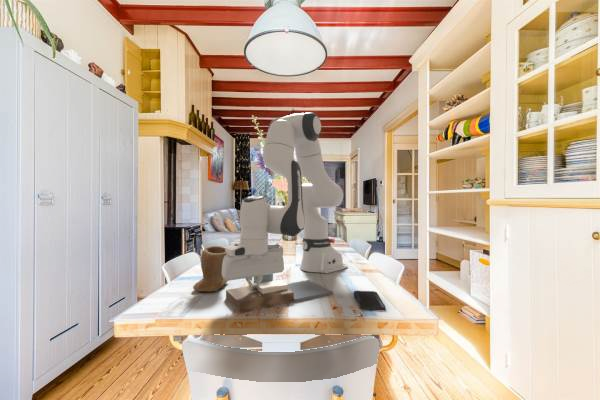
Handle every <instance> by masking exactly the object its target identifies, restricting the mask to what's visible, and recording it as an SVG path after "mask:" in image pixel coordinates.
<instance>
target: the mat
mask: <svg viewBox="0 0 600 400" xmlns="http://www.w3.org/2000/svg"><path fill="white" fill-rule="evenodd" d="M287 284H288V289H289V290H291V291H293V292H294V301H293V302H294V303H298V302H303V301H308V300H312V299H317V298H323V297H325V296H330V295H333V294H334V291H333V290H331V289H329V288H327V287H326V286H325V287H324V286H323V285H320V284H319V283H316V282H314V281H312V280H310V279H307V280H303V281H302V280H301V281H295V282H291V283H290V282H289V283H287Z"/></svg>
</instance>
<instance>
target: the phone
mask: <svg viewBox="0 0 600 400" xmlns="http://www.w3.org/2000/svg"><path fill="white" fill-rule="evenodd" d="M353 295H354V298H355V300H357V301H356V303H357V305H358V306H357V307H358V309H359V308H360V309H361V311H372V310H385V309H386V305H385V303H384V302H383V301H382V298H381V297H380V295H379V293H378V292H377V291H374V290H372V291H371V290H354V292H353ZM360 309H359V310H360ZM385 311H386V310H385Z"/></svg>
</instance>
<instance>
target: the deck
mask: <svg viewBox="0 0 600 400" xmlns="http://www.w3.org/2000/svg"><path fill="white" fill-rule="evenodd" d="M225 300H226V301H227V302H228V303H229V304H230V305H231V306H232V307H233V308H234V309H235V310H236V311H237V312H238V313H239V314H242V313H247V312H251V311H255V310H257V311H258V310H260V309H265V308H269V307H274V306H278V305H279V306H280V305H284V304H287V303H292V302H294V292H293V291H291V290H289V289H286V290H281V291H275V292H270V293H265V294H262V293H261V292H259V291H258V290H252V291H250V290H249V285H247V286H240V287H236V288H229V289H225Z"/></svg>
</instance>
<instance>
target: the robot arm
mask: <svg viewBox="0 0 600 400" xmlns="http://www.w3.org/2000/svg"><path fill="white" fill-rule="evenodd" d="M321 133H322V122H321V119H320V117H319V115H317V114H316V113H315V112H305V113H304V112H301V113H292V114H290V115H285V116H282V117H277V118H274V119H272V120H271V121H270V123H269V124H268V128H267V134H266V136H265V141H264V146H263V149H262V151H263V152H262V161H263V164H264V165H265V167H266V169H268V170H269V171H270V172H272V173H273V174H274V173H275V174H276V175H278V176H281V177H283V178H285V179H286V182H287V204H286V205H273V204H271V203H270V204H269V203H268V202H267V199H266V197H265V196H264V195H250V196H247V197H244V198H243V199H242V201H241V205H240V210H239V211H240V213H239V226H240V231H241V232H240V236H239V241H236V242H234V243H232V244H229V245H227V246H226V247H224V248H225V252H226V254H227V255H225V256H224V258H223V263H222V277H223V278H224V279H225V280H226V281H227V282H228V281H229V282H230V281H234V280H235V281H236V280H241V279H245V281H246V282H247V284H248V286H249V290H250V291H252V290H258V289H259V284H260V283H261V281H262V279H263V275H268V274H273V275H274V274H279V273H282V272H283V271H284V270H285V263H284V248H283V246H282V245H280V244H269V236H268V234H272V235H283V236H287V237H292V238H293V237H296V236H297V235H298V234H300V233H301V232H302V231H303V237H302V258H301V262H300V267H299V269H300V270H302V271H304V272H309V273H322V274H329V273H333V272H337V271H340V270H344V269H345V270H346V269H348V268H349V267H348V266H349V265H348V264H347V263H345V262H344V261H343V256H342V253H340V251H338V250H337V249H336V248H335V247H333V246H332V244H335V242H336V239H335V238H332V237H331V238H329V237H328V236H329V235H328V234H329V228H328V227H329V223H328V220H327V219H326V217H324V216H323V215H321V214H320V213H319V208H320V209H321V208H322V209H323V208H324V209H330V208H335V207H339V206H340V205H341V204H342V202H343V199H344V191H343V189H342V188H341V186H340V185H339V184H337V183H336V182H334V180H333V179H332V178H331V177H330V176H329V175H328V173H327V171H326V169H325V166H324V165H325V164H324V160H323V156H322V155H323V154H322V149H321V145H320V141H319V136H320V135H321ZM294 153H295V154H294ZM295 157H296V160H295ZM302 177H303V178H305V179H307V180H308V181H309V183H303V182H302V181H303V180H302ZM255 276H256V277H257V281H256V283H254V282H252V280H253V278H254V277H255Z"/></svg>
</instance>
